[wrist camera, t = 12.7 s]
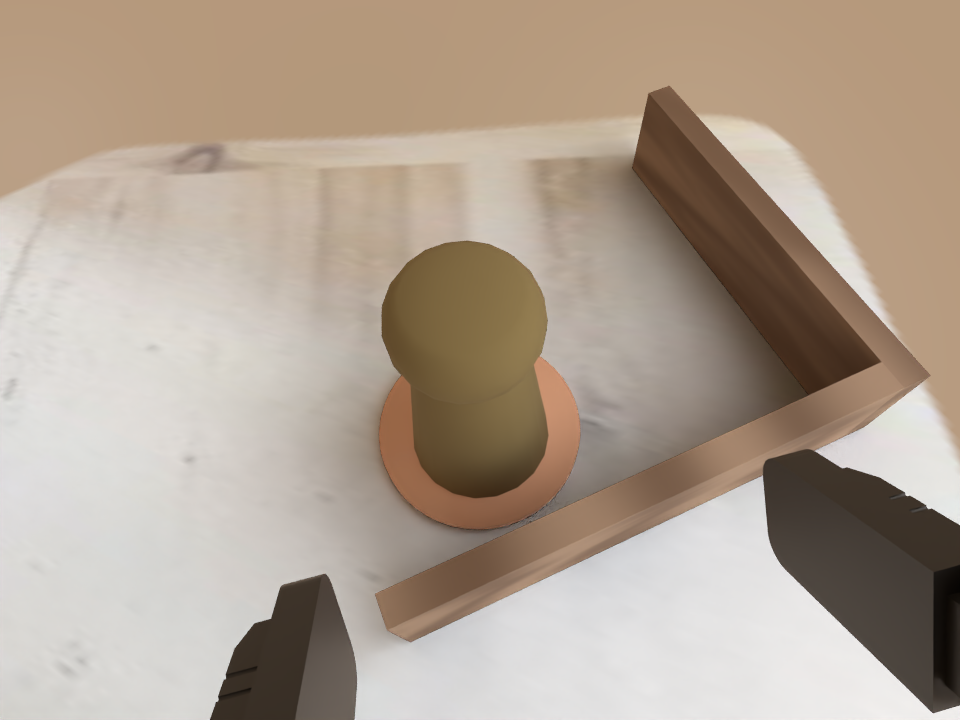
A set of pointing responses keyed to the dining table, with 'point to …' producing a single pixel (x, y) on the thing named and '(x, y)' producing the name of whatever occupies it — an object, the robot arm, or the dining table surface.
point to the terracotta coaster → (488, 509)
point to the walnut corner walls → (736, 454)
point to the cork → (470, 365)
